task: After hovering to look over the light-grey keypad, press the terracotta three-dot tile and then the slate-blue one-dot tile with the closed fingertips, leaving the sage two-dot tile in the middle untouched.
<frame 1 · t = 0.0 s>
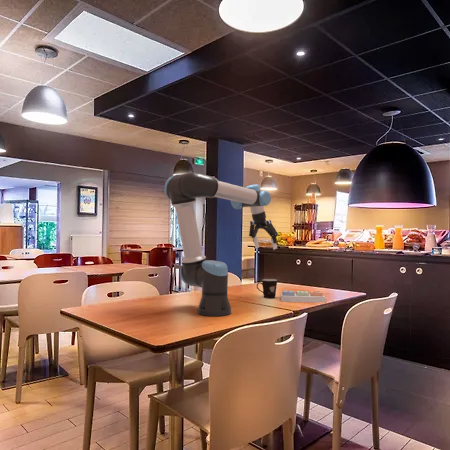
hand: (266, 248, 220), 28 cm above the table, tool tilted 20°, fingers open, 13 cm apart
coffee mug: (266, 298, 220), on the table
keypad: (302, 300, 211), on the table
tile one: (288, 294, 212), point 3 cm above the table, slide at 0.0 cm
tile two: (302, 294, 212), point 3 cm above the table, slide at 0.0 cm
tile three: (316, 294, 211), point 3 cm above the table, slide at 0.0 cm
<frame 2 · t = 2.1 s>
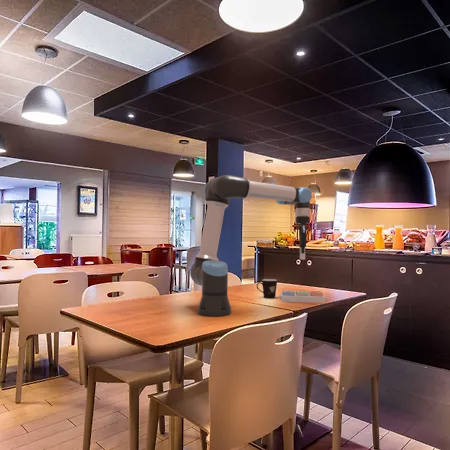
hand: (302, 259, 212), 22 cm above the table, tool pointing down, fingers closed
nothing on the table moved.
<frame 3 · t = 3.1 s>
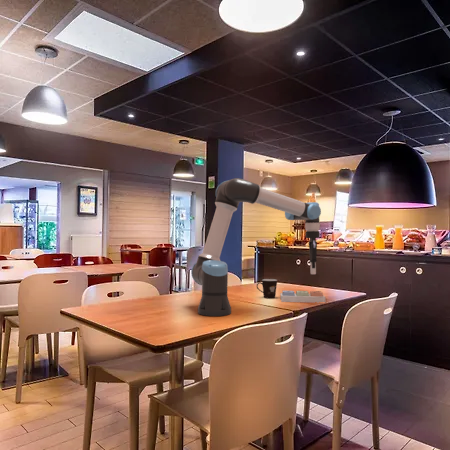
hand: (313, 274, 212), 14 cm above the table, tool pointing down, fingers closed
nothing on the table moved.
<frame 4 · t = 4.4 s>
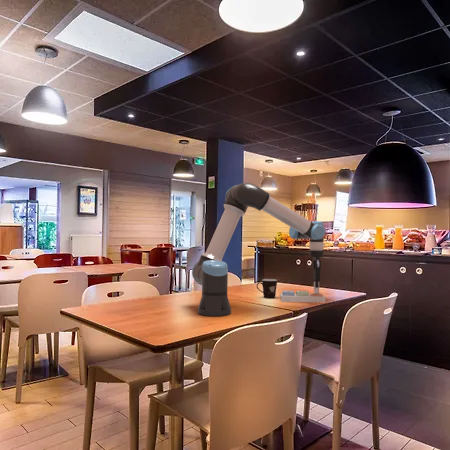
hand: (316, 293, 211), 4 cm above the table, tool pointing down, fingers closed
tile three: (316, 296, 211), point 2 cm above the table, slide at 1.1 cm, touching gripper
everything else where it was.
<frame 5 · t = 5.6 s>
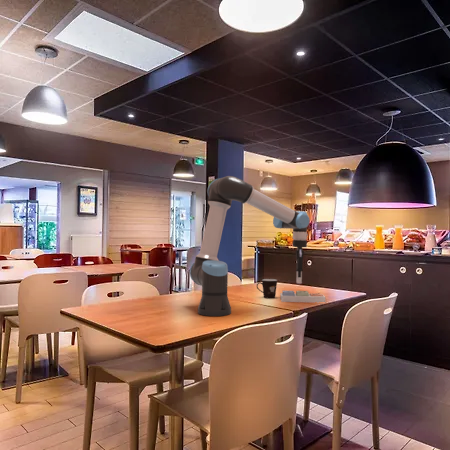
hand: (299, 283, 211), 9 cm above the table, tool pointing down, fingers closed
tile three: (316, 296, 211), point 2 cm above the table, slide at 1.2 cm
everything else where it was.
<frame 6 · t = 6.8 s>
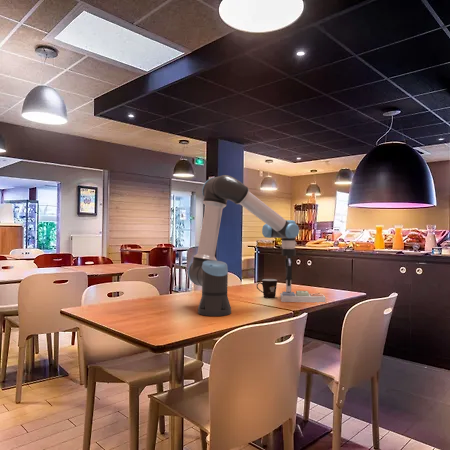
hand: (288, 291, 212), 5 cm above the table, tool pointing down, fingers closed
tile one: (288, 295, 212), point 3 cm above the table, slide at 0.6 cm, touching gripper
everything else where it was.
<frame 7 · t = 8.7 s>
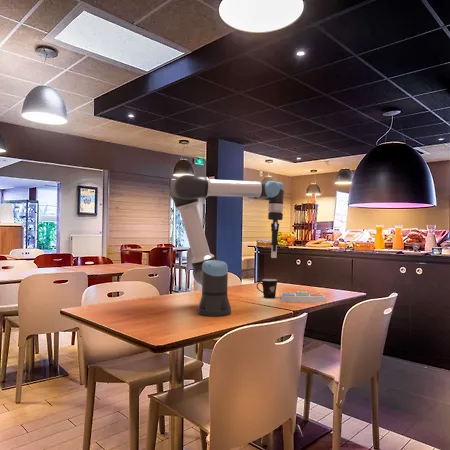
hand: (273, 257, 201), 24 cm above the table, tool pointing down, fingers closed
tile one: (288, 296, 212), point 2 cm above the table, slide at 1.2 cm
everything else where it was.
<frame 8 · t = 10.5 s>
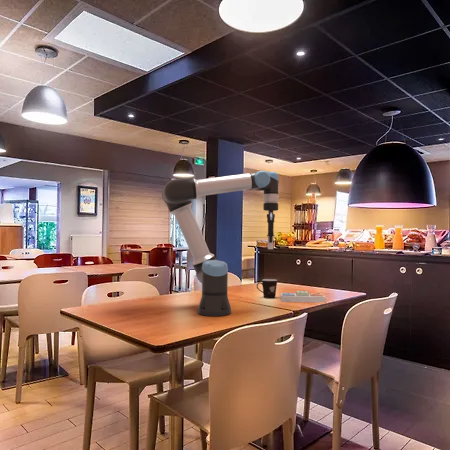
hand: (270, 249, 197), 28 cm above the table, tool pointing down, fingers closed
nothing on the table moved.
at the end: tile three slide at 1.2 cm; tile one slide at 1.2 cm; tile two slide at 0.0 cm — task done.
